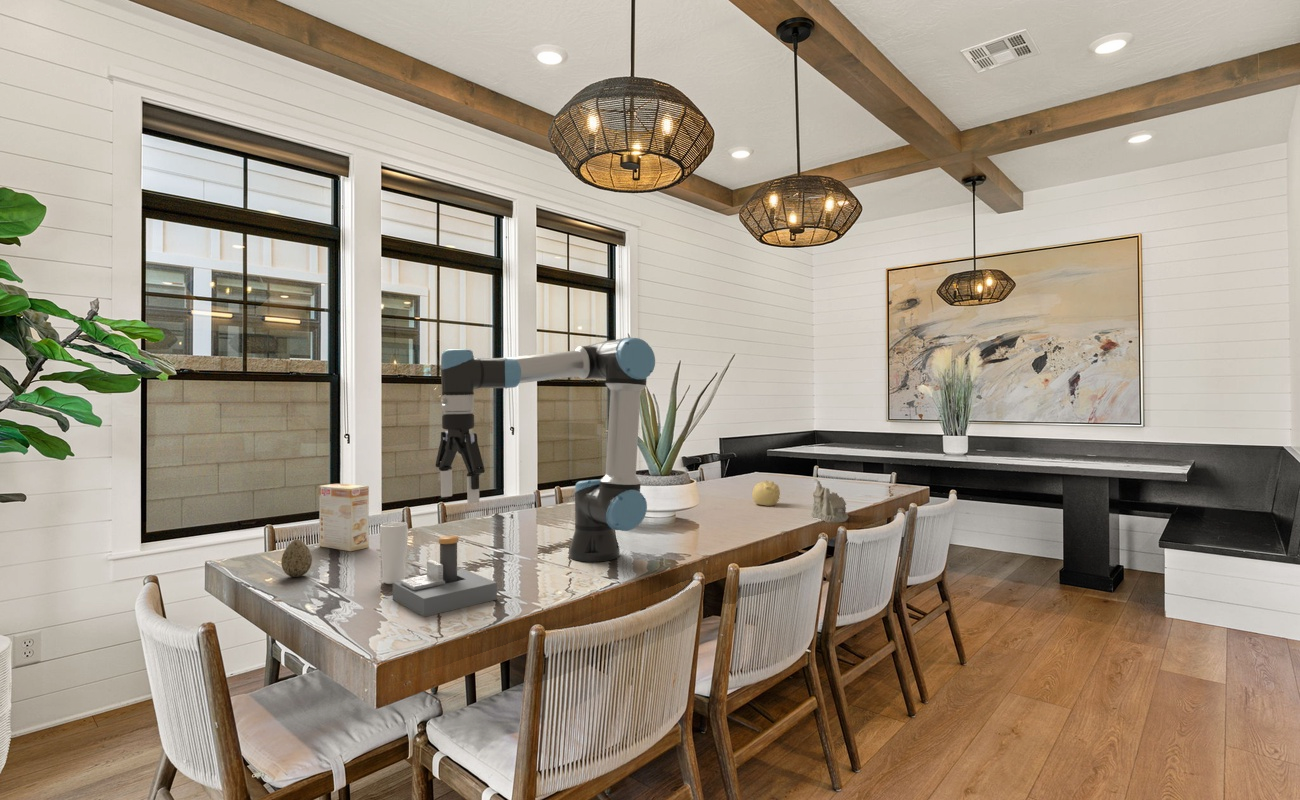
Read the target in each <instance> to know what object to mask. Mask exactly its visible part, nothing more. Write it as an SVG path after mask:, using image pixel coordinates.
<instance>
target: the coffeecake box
mask: <svg viewBox="0 0 1300 800" xmlns="http://www.w3.org/2000/svg"><path fill="white" fill-rule="evenodd" d="M318 491H319V493H318V494H319V500H318V502H319V503H318V505H319V507H318V508H319V513H318V514H319V517H318V518H319V519H318V520H319V522H318V523H319V547H320V546H321V548H328V549H334V550H340V551H346V552H354V551H358V550H363V549H367V548H370V546H369V545H370V544H369V543H370V541H369V540H370V536H369V534H370V533H369V532H370V531H369V530H370V527H369V525H370V521H369V519H370V517H369V511H370V509H369V506H370V505H369V502H370V501H369V500H370V499H369V498H370V497H369V496H370V495H369V494H370V493H369V491H370V489H369V485H358V484H357V485H356V484H347V483H345V484H344V483H330V484H324V485H319V490H318Z"/></svg>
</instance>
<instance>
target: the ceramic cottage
mask: <svg viewBox="0 0 1300 800" xmlns="http://www.w3.org/2000/svg"><path fill="white" fill-rule="evenodd" d="M812 496H813V503H812V513H811V516H812V517H813V518H818V519H821V520H824V521H825V522H824V523H831V524H832V523H833V524H835V523H843V522H846V521H847V520H848V519H849V518H850V517H849V515H848V514H847V513H846V512H847V508H846V507H847V506H846V505H847V502H846V501H845V499H844V497H843V496H839V495H838V492H831V491H830V488H828V487H827V488H826V487H824V486H822V483H821V481H820V480H817V481H816V488H815V490H814V492H813V493H812ZM813 518H812V519H813Z"/></svg>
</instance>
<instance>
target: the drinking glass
mask: <svg viewBox="0 0 1300 800" xmlns="http://www.w3.org/2000/svg"><path fill="white" fill-rule="evenodd" d="M408 527H409V526H408V522H405V521H391V522H389V521H388V522H383V523H381V524H380V525H379V545H380V546H379V548H380V556H381V557H380V559H381V568H382V582H383V583H384V584H385V585H393V582H397V581H400V580H403V579H406V562H407V552H408V551H407V550H408V543H409V542H408V540H409V537H408V535H409V531H408Z"/></svg>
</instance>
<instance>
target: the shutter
mask: <svg viewBox="0 0 1300 800" xmlns="http://www.w3.org/2000/svg"><path fill="white" fill-rule="evenodd" d="M400 583H401V584H403V585H405V586H407V587H408V588H410V589H412V590H418V589H423V588H428V587H432V586H437V585H442V584H445V580H443V564H440V562H438V561H435V560H433V559H429V560H426V574H423V575H420V576H419V575H418V576H415V577H414V576H413V577H409V578H405V579H403V580H400Z"/></svg>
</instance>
